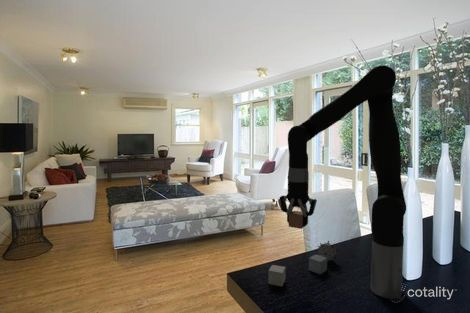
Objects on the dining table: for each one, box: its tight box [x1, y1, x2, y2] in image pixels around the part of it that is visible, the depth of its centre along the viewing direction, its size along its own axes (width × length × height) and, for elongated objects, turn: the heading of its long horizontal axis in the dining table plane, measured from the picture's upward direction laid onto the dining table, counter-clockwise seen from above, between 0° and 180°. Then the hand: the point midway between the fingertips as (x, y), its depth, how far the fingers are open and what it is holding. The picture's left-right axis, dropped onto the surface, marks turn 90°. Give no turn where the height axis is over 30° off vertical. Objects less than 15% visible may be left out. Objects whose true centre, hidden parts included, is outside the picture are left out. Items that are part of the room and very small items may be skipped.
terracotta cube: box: [288, 210, 305, 230], centre depth 109 cm, size 5×5×5 cm
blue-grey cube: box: [308, 253, 328, 275], centre depth 115 cm, size 5×5×5 cm
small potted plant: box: [315, 240, 339, 263], centre depth 123 cm, size 9×8×10 cm
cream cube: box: [267, 264, 287, 287], centre depth 105 cm, size 5×5×5 cm
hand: (297, 224), depth 110 cm, fingers closed on terracotta cube, 5 cm apart
